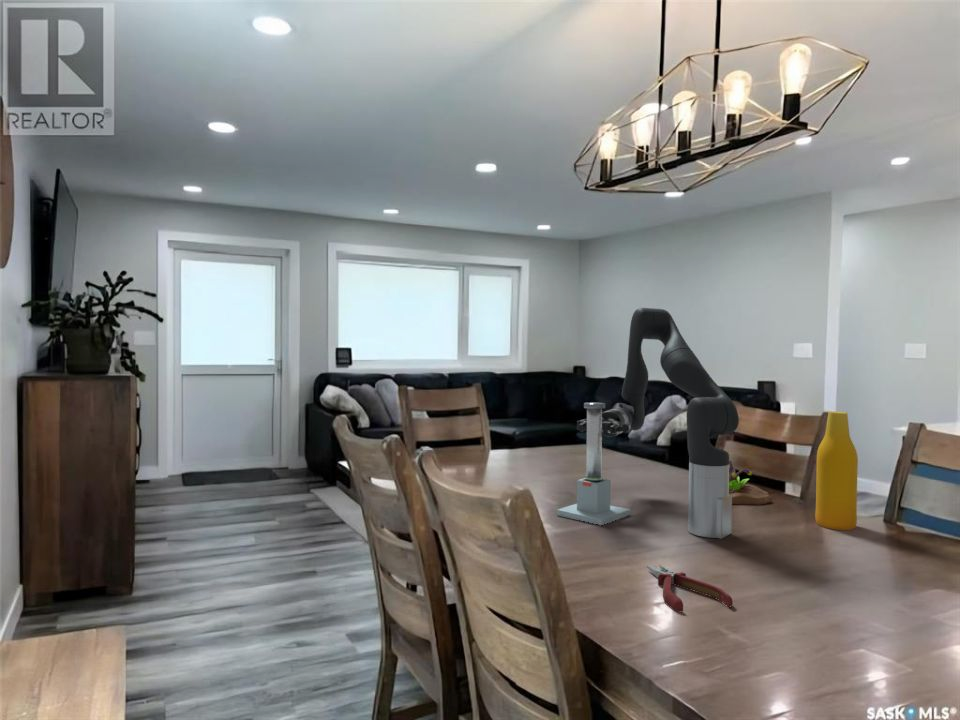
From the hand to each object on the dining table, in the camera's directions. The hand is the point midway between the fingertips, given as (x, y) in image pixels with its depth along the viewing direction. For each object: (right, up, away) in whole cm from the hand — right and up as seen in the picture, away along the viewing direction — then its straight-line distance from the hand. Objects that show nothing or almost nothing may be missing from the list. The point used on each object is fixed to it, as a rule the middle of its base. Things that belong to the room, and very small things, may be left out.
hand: (596, 429), depth 171 cm
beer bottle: (+60, -24, -9) cm, 65 cm away
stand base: (-1, -23, -1) cm, 23 cm away
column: (-1, -14, -1) cm, 14 cm away
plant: (+45, -23, +21) cm, 55 cm away
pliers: (+8, -25, -52) cm, 59 cm away
